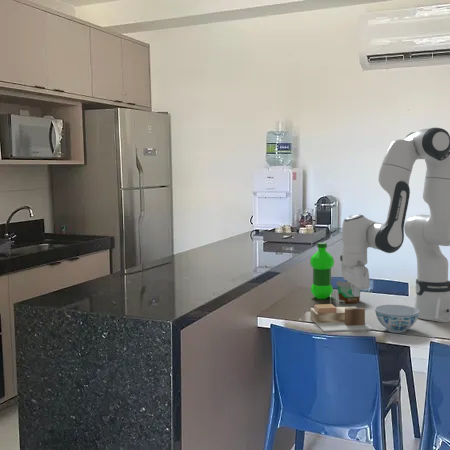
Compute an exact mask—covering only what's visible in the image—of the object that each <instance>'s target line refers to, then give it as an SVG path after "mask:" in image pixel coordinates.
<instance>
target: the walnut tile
mask: <svg viewBox="0 0 450 450" xmlns="http://www.w3.org/2000/svg"><path fill="white" fill-rule="evenodd" d="M365 323H366V309H365V308H364V307H357V308H345V325H346V326H349V325H365Z"/></svg>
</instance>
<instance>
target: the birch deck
mask: <svg viewBox="0 0 450 450" xmlns="http://www.w3.org/2000/svg"><path fill="white" fill-rule="evenodd" d="M335 307H336V308H337V312H334V313H318V312H317V311H316V310H315V309H314V307H310V309H309V311H310V312H309V313H310V315H309V316H310V317H309V318H310V319H311V320H312V321H313V323H314V324H316V323H329V322H345V308H358V307H357V306H356V305H355V306H335Z"/></svg>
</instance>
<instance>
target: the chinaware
mask: <svg viewBox="0 0 450 450" xmlns="http://www.w3.org/2000/svg"><path fill="white" fill-rule="evenodd" d="M374 311H375V315H376V318H377V320H378V321H379V323H380V324H381V325H382V326H383V327H384V328H386V331H387V330H388V331H387V332H390V333H394V334H395V333H396V334H399V333H400V334H401V333H406V332H407V330H409V329H410V328H411V327H413V326H414V324H415V323H416V322H417V319H419V318H418V315H419V310H418V309H416V308H414V306H413V307H412V306H410V305H408V306H407V305H404V304H382V305H378V306H375V308H374Z"/></svg>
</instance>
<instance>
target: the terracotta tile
mask: <svg viewBox="0 0 450 450" xmlns="http://www.w3.org/2000/svg"><path fill="white" fill-rule="evenodd" d="M313 306H314V307H313V308H314V309H315V310H316V311H317V312H318V313H334V312H337V308H336V307H337V306H335V305H334V304H332V303H324V304H323V303H322V304H321V303H320V304H319V303H318V304H314V305H313Z"/></svg>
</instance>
